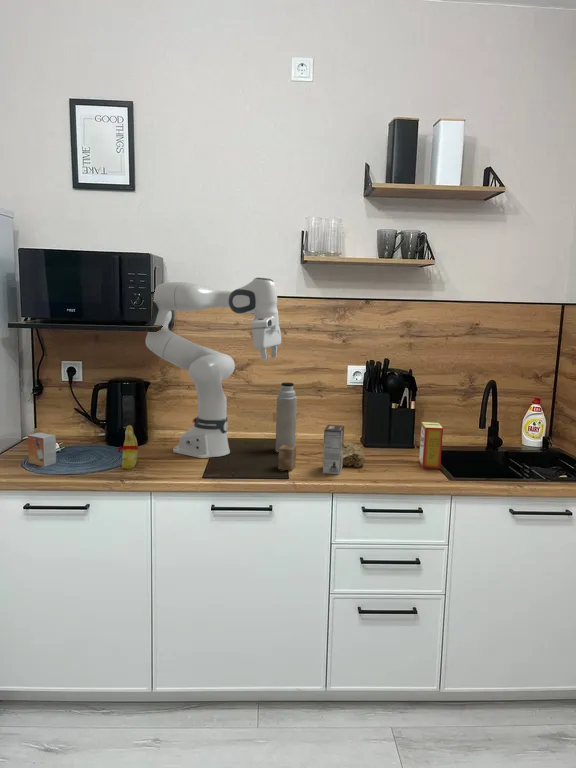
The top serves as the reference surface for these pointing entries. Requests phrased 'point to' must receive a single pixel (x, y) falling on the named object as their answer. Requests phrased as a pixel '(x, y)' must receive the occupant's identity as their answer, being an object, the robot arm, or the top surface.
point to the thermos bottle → (286, 416)
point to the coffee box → (333, 449)
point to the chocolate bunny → (129, 449)
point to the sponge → (352, 455)
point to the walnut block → (287, 458)
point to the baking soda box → (430, 445)
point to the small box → (42, 449)
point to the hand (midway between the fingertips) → (269, 358)
